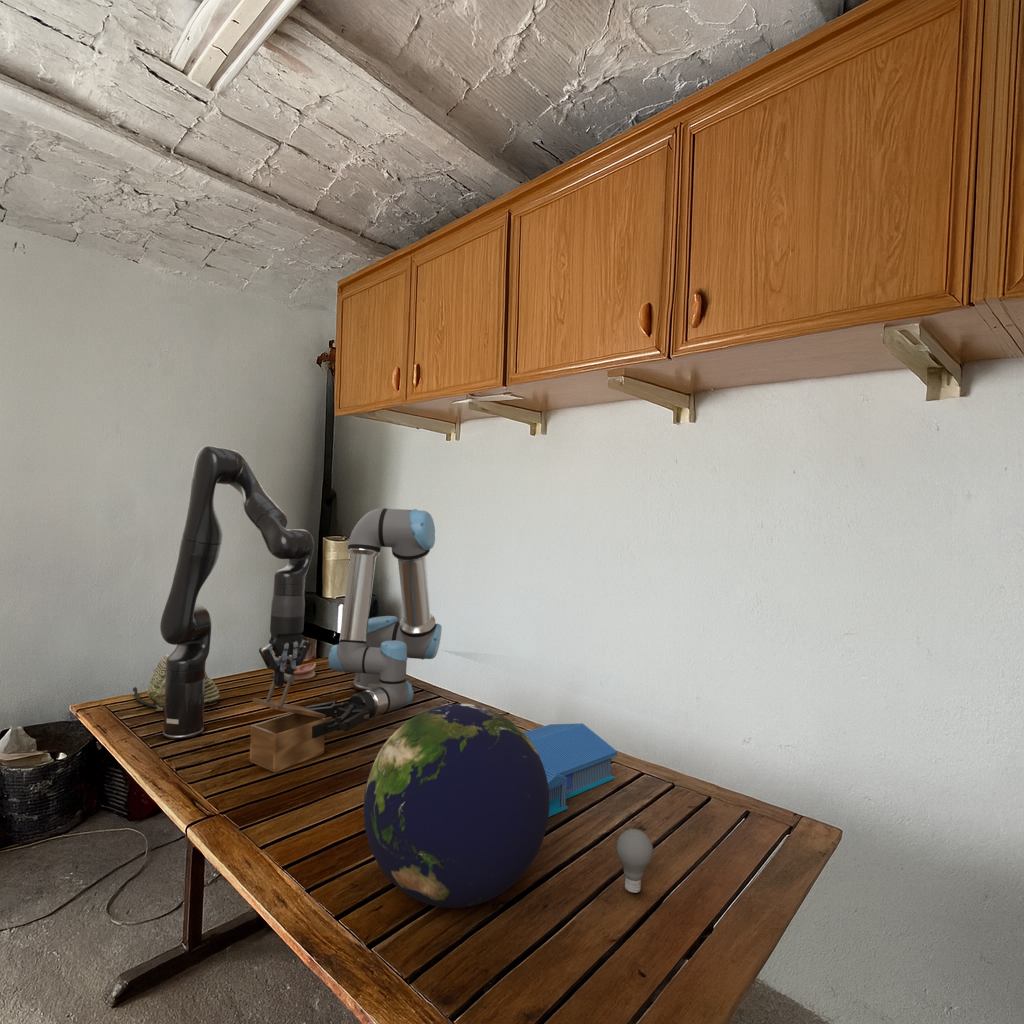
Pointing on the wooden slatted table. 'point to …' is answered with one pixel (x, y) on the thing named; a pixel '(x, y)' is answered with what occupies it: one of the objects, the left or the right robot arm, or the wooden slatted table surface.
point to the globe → (456, 806)
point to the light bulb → (634, 857)
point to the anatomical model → (304, 671)
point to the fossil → (158, 687)
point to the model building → (571, 760)
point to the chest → (285, 741)
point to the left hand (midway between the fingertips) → (283, 685)
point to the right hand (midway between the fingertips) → (299, 727)
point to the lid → (281, 705)
